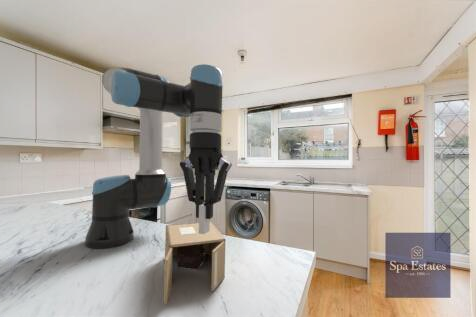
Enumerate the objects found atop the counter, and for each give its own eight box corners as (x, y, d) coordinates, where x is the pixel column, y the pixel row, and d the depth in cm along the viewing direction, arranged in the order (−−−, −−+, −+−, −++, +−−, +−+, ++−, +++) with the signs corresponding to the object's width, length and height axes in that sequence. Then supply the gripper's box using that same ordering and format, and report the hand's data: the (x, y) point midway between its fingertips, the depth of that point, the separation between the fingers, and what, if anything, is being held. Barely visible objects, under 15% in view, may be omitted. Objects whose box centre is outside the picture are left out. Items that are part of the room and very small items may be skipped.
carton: (164, 258, 66) (165, 225, 66) (210, 252, 71) (210, 221, 71) (167, 287, 51) (168, 244, 51) (224, 277, 56) (225, 238, 56)
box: (196, 270, 59) (197, 243, 59) (176, 268, 61) (177, 241, 61) (204, 260, 65) (205, 236, 65) (186, 258, 67) (186, 234, 67)
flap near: (171, 286, 51) (172, 248, 51) (166, 303, 45) (167, 260, 45) (168, 286, 51) (169, 248, 51) (163, 304, 45) (164, 260, 45)
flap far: (211, 290, 50) (212, 251, 50) (221, 277, 55) (222, 241, 55) (213, 291, 49) (214, 251, 49) (224, 277, 55) (224, 242, 55)
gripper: (173, 131, 51) (171, 233, 50) (224, 129, 46) (223, 241, 46) (190, 135, 58) (188, 224, 57) (236, 134, 53) (235, 230, 53)
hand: (204, 232), depth 52 cm, fingers closed
